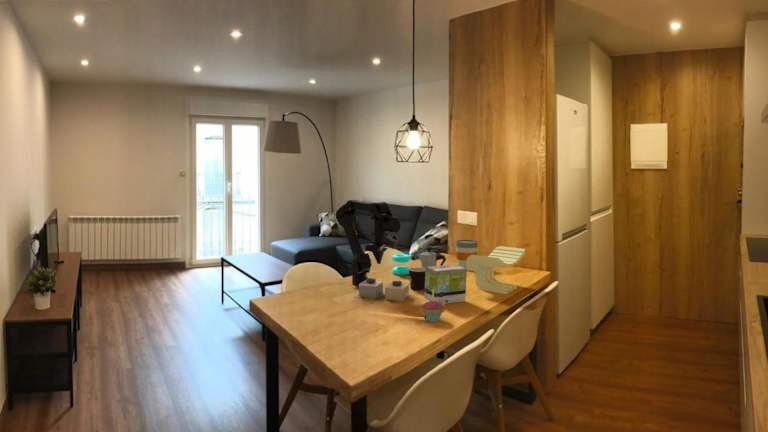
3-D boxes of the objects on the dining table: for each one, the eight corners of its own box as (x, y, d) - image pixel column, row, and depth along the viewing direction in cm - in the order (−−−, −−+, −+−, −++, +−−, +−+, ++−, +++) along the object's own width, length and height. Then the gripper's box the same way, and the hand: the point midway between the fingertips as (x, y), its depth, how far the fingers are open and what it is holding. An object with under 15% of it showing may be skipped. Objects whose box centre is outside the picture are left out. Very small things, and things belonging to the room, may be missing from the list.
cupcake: (420, 316, 186) (420, 286, 185) (442, 316, 187) (442, 285, 185) (424, 323, 177) (424, 292, 176) (446, 323, 178) (447, 291, 177)
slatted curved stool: (493, 280, 246) (494, 245, 244) (523, 284, 236) (525, 248, 235) (465, 292, 222) (466, 253, 221) (497, 298, 213) (499, 258, 211)
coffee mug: (425, 293, 219) (426, 271, 218) (406, 292, 221) (407, 271, 220) (428, 287, 230) (428, 266, 229) (410, 286, 232) (410, 265, 231)
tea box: (436, 306, 200) (437, 271, 198) (423, 300, 209) (424, 266, 207) (466, 301, 207) (467, 267, 205) (452, 295, 216) (453, 263, 214)
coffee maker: (413, 283, 238) (413, 247, 236) (419, 279, 246) (419, 244, 244) (442, 286, 232) (443, 249, 230) (447, 282, 240) (448, 246, 238)
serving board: (353, 299, 208) (353, 297, 208) (365, 292, 220) (365, 290, 220) (404, 305, 200) (404, 303, 200) (413, 297, 212) (413, 295, 212)
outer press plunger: (387, 297, 206) (387, 282, 205) (392, 294, 212) (392, 279, 211) (401, 299, 204) (401, 284, 203) (406, 295, 210) (406, 280, 209)
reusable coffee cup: (454, 269, 271) (455, 242, 269) (454, 264, 283) (455, 239, 281) (477, 270, 268) (478, 243, 267) (476, 265, 281) (477, 240, 279)
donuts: (414, 254, 259) (404, 257, 251) (414, 273, 260) (404, 276, 252) (398, 252, 265) (388, 255, 257) (398, 270, 266) (388, 274, 258)
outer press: (384, 299, 206) (384, 286, 205) (392, 293, 215) (392, 281, 214) (402, 301, 203) (402, 288, 202) (409, 295, 212) (409, 283, 211)
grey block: (359, 296, 210) (359, 283, 209) (367, 291, 219) (367, 279, 218) (376, 298, 207) (376, 285, 207) (384, 292, 216) (384, 280, 215)
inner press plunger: (361, 295, 210) (361, 280, 210) (367, 291, 216) (367, 277, 216) (375, 296, 208) (375, 281, 207) (380, 293, 214) (380, 278, 213)
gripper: (387, 234, 208) (387, 269, 209) (403, 228, 224) (402, 261, 226) (364, 232, 212) (364, 267, 214) (381, 227, 229) (381, 259, 231)
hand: (379, 263), depth 221 cm, fingers closed
